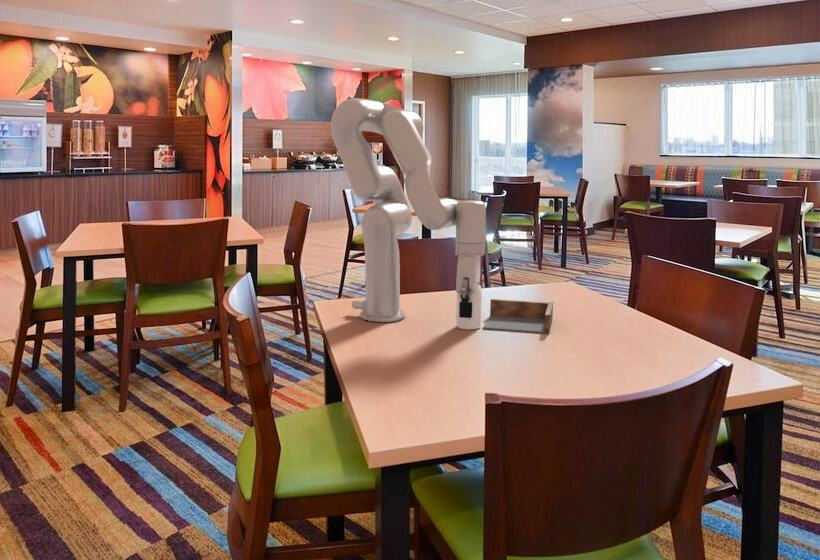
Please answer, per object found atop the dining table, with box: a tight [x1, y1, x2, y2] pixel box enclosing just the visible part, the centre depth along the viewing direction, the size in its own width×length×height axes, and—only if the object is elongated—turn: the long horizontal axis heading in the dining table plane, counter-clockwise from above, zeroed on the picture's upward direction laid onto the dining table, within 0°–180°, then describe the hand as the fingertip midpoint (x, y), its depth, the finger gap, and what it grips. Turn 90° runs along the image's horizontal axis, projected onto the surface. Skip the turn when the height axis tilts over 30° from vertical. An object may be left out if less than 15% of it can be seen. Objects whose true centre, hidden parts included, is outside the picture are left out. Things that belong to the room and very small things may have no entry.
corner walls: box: [489, 298, 554, 335], centre depth 179 cm, size 17×14×5 cm
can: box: [456, 281, 483, 331], centre depth 176 cm, size 6×6×12 cm
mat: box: [482, 315, 551, 334], centre depth 179 cm, size 17×14×1 cm
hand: (468, 313), depth 176 cm, fingers open, 9 cm apart
